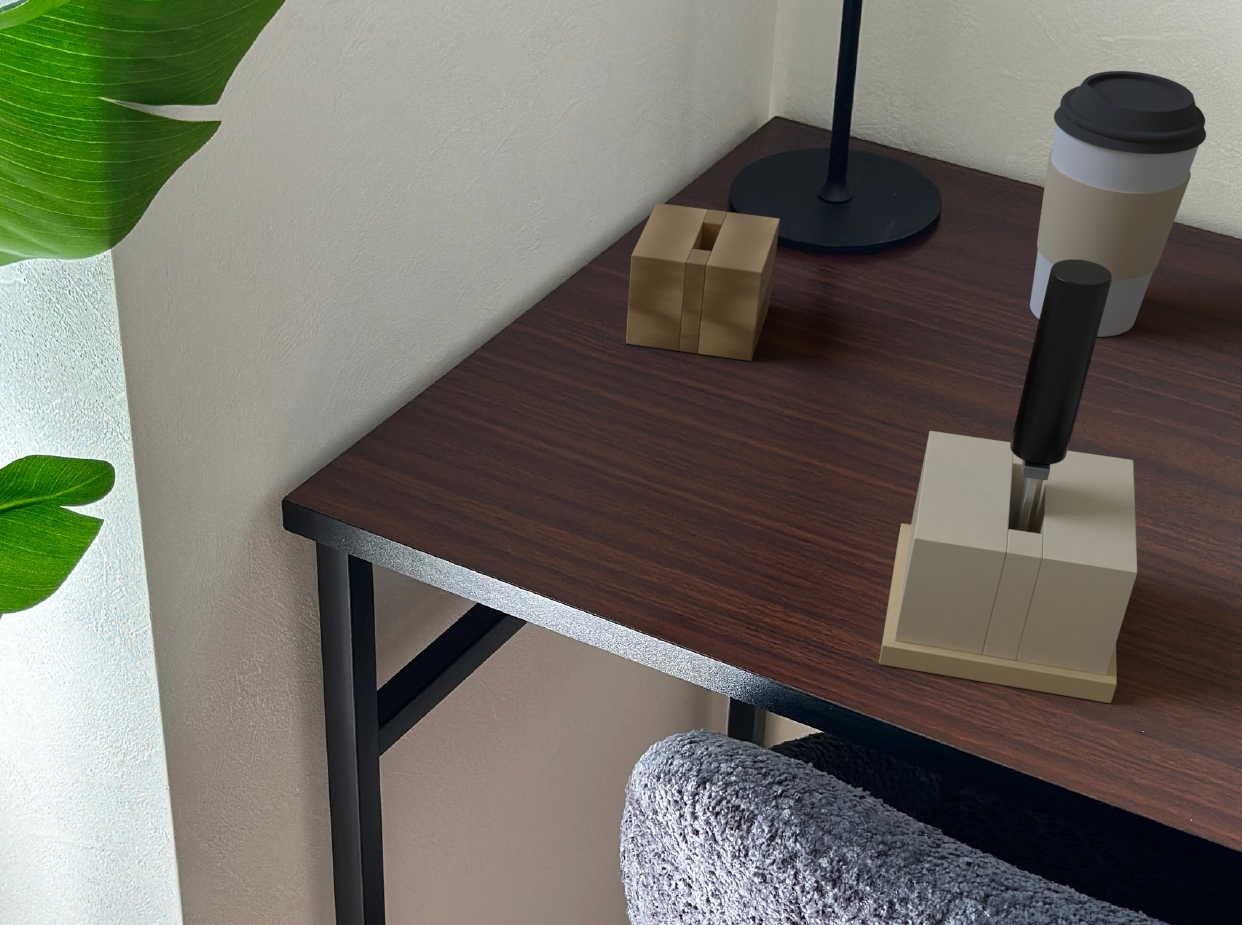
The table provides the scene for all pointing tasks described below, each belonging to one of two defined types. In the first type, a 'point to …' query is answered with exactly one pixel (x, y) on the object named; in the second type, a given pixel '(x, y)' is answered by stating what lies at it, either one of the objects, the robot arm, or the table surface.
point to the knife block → (701, 281)
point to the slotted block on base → (1014, 570)
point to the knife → (1057, 372)
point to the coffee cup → (1116, 183)
